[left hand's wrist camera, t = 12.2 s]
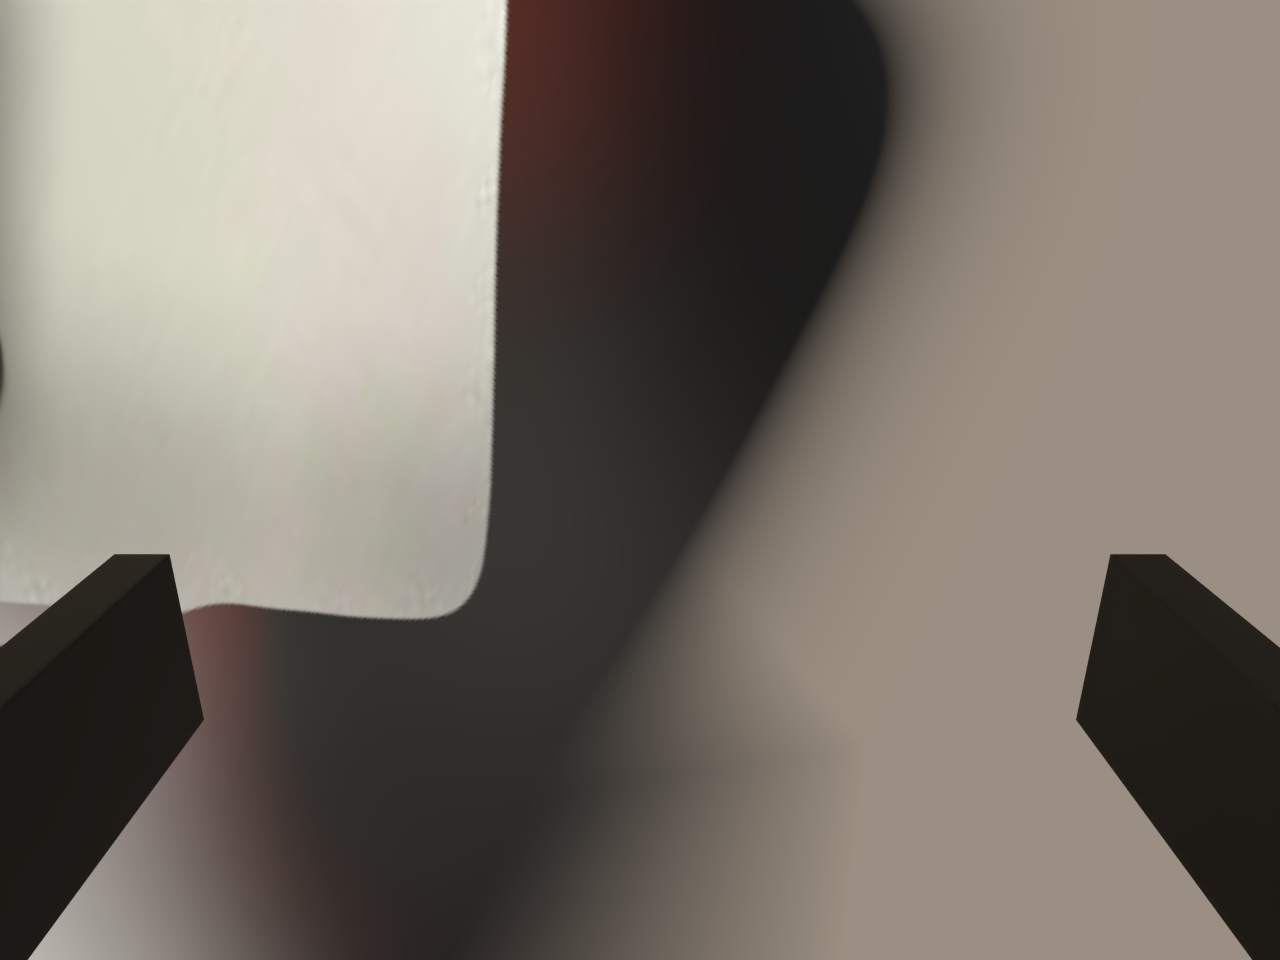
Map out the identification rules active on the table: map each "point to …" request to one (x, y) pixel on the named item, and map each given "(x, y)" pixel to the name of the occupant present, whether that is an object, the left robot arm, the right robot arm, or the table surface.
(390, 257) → the table surface
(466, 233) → the table surface
